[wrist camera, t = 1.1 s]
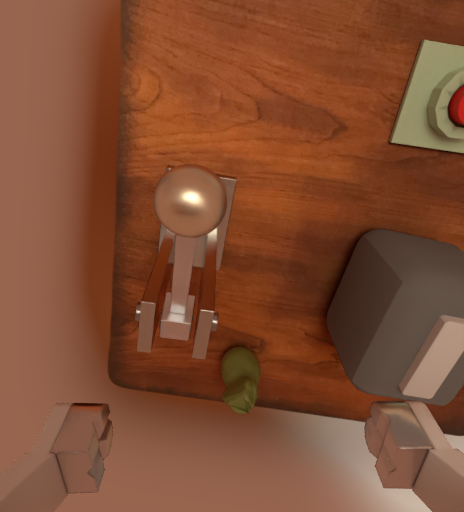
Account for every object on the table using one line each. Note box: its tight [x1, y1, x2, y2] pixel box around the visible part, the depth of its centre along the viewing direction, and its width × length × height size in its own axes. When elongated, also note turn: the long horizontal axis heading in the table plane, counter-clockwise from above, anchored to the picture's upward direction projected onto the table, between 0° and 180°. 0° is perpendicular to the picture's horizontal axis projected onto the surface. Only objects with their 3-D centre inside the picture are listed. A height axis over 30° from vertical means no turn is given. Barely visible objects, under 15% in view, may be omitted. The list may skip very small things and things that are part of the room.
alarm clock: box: [327, 229, 464, 406], centre depth 43 cm, size 16×11×16 cm
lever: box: [154, 164, 227, 341], centre depth 23 cm, size 15×4×4 cm, turn 170°
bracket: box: [135, 165, 237, 359], centre depth 36 cm, size 12×8×22 cm, turn 170°
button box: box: [389, 40, 464, 153], centre depth 39 cm, size 12×10×2 cm
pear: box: [221, 346, 261, 414], centre depth 51 cm, size 6×5×10 cm
